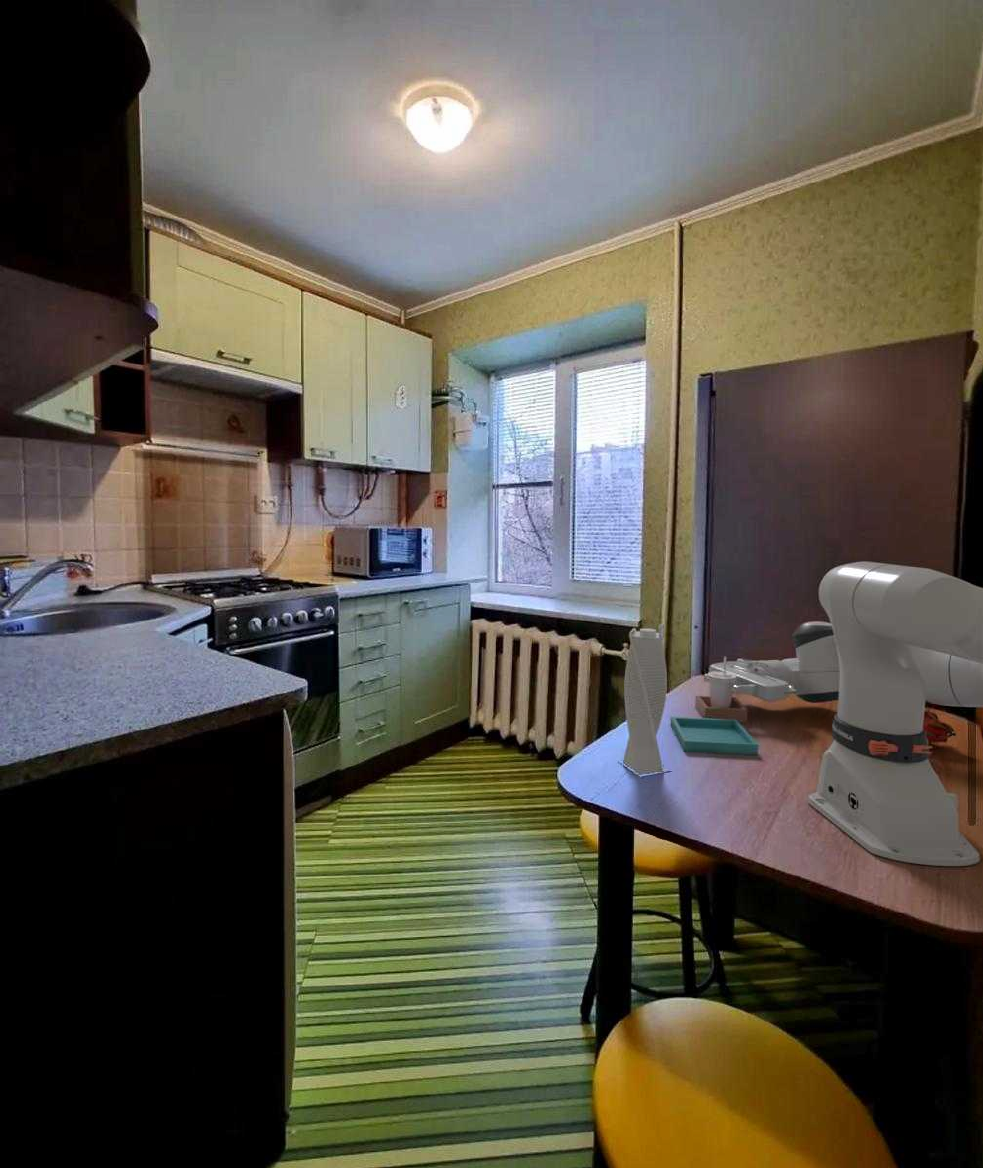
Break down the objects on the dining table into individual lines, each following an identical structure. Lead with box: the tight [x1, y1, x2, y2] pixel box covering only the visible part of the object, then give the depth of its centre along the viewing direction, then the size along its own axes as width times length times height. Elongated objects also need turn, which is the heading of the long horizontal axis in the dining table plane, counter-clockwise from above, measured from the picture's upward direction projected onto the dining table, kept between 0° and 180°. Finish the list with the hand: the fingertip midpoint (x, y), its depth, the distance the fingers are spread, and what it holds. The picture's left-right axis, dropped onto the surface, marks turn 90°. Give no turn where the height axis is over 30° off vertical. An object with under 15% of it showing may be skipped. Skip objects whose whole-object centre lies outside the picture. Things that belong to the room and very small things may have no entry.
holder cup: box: [694, 695, 748, 723], centre depth 132 cm, size 9×9×3 cm
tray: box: [670, 716, 759, 756], centre depth 117 cm, size 14×14×2 cm
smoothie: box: [707, 656, 736, 708], centre depth 131 cm, size 6×6×14 cm
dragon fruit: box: [923, 708, 957, 749], centre depth 115 cm, size 8×8×12 cm
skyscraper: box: [622, 622, 668, 775], centre depth 102 cm, size 8×8×28 cm
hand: (719, 684), depth 131 cm, fingers open, 8 cm apart
